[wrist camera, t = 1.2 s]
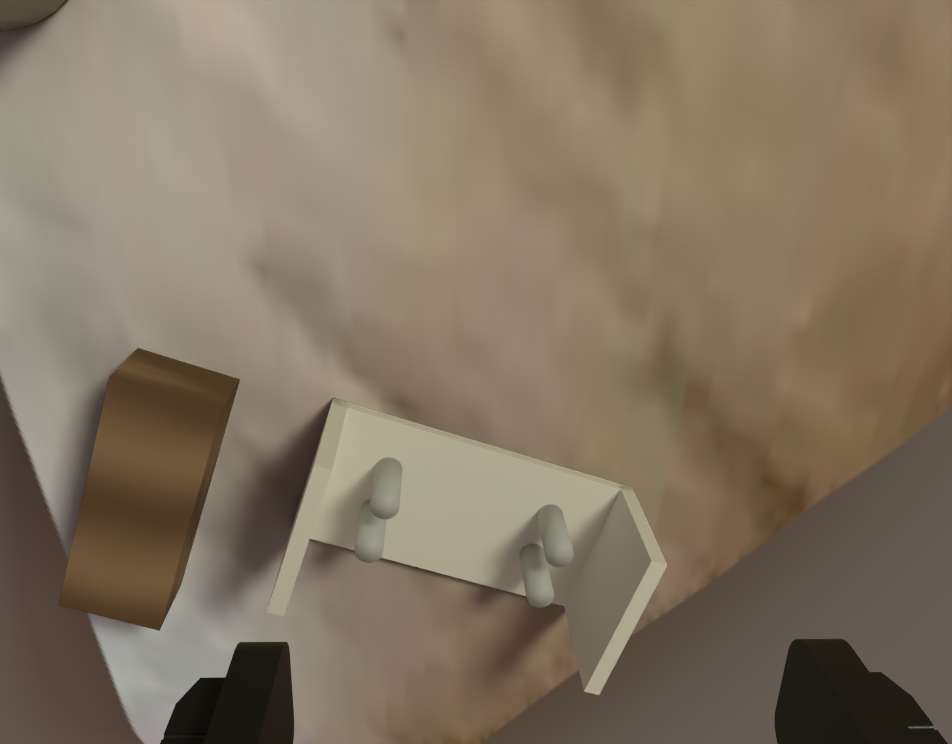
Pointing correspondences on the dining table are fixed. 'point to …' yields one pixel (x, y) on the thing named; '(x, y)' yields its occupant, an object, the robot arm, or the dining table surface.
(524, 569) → the shelf frame
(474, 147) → the dining table surface
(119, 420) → the brown rectangular block
